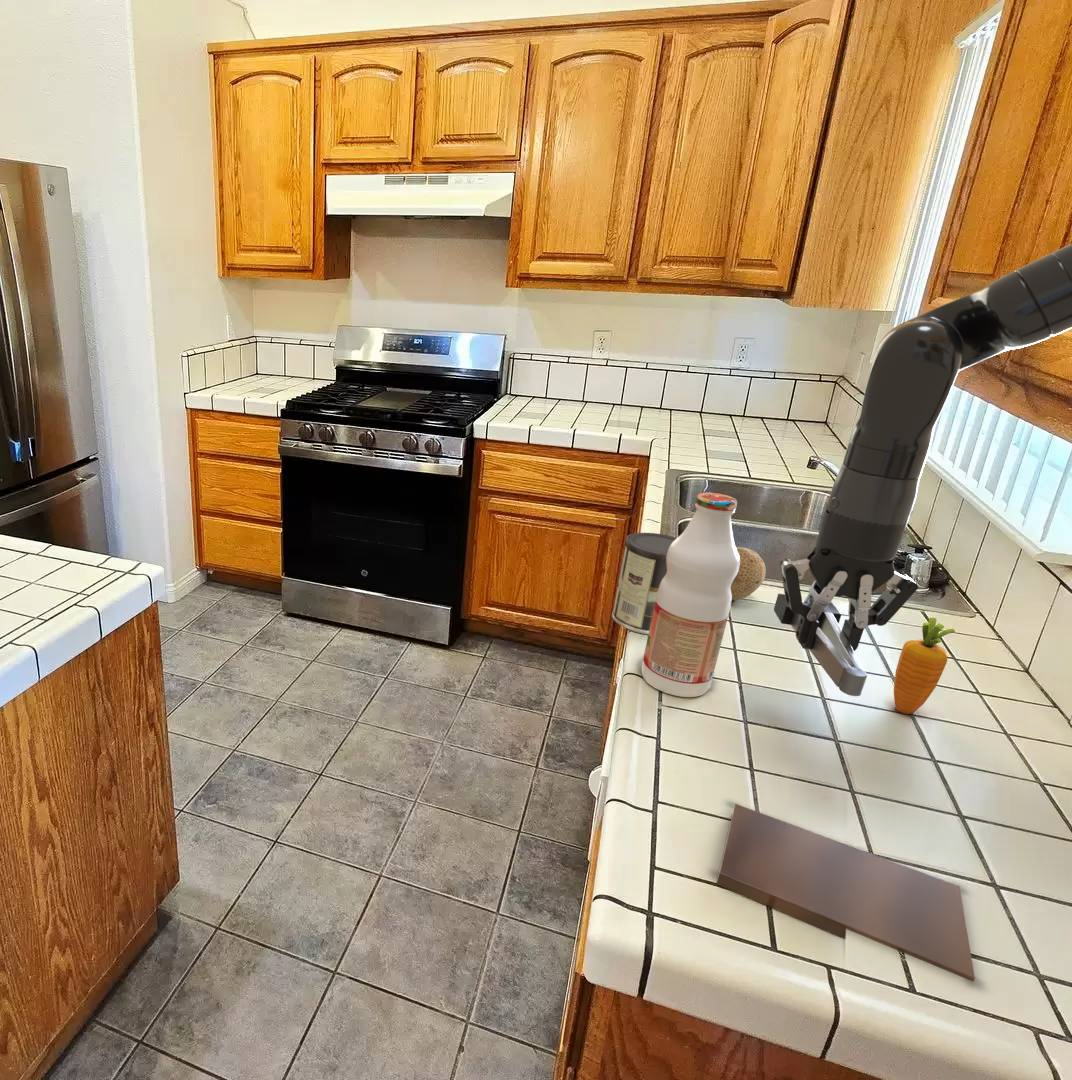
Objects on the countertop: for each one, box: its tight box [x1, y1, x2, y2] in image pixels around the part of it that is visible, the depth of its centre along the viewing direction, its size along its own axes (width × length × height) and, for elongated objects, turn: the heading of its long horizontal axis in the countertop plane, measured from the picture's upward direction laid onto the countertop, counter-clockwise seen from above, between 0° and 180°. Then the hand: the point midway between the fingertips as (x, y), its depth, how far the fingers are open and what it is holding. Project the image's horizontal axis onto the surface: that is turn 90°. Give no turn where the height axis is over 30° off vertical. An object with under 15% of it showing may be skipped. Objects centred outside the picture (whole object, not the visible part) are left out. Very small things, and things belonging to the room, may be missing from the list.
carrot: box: [893, 617, 956, 715], centre depth 100 cm, size 5×5×15 cm
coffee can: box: [611, 532, 677, 635], centre depth 124 cm, size 10×10×14 cm
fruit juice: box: [641, 491, 740, 698], centre depth 104 cm, size 9×9×28 cm
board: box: [715, 803, 976, 982], centre depth 73 cm, size 20×12×2 cm, turn 58°
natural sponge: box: [730, 546, 767, 601], centre depth 135 cm, size 9×9×10 cm
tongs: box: [773, 593, 868, 697], centre depth 87 cm, size 20×6×2 cm, turn 165°
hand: (823, 648), depth 88 cm, fingers closed on tongs, 3 cm apart
